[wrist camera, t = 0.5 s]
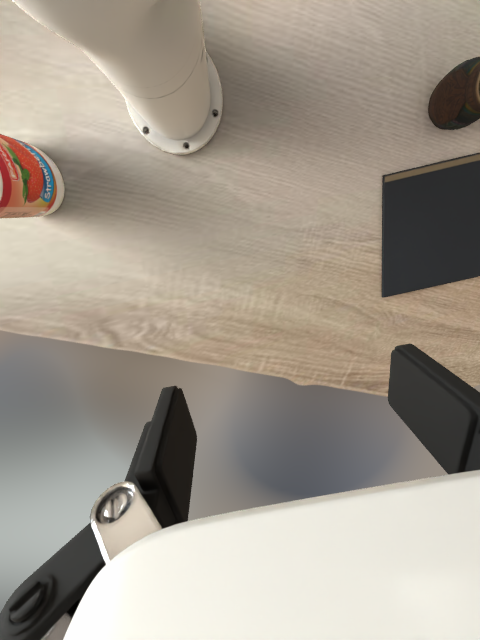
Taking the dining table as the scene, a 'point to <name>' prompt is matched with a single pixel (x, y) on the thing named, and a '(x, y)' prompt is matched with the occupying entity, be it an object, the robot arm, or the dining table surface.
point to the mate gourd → (457, 97)
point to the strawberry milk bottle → (27, 181)
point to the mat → (431, 225)
